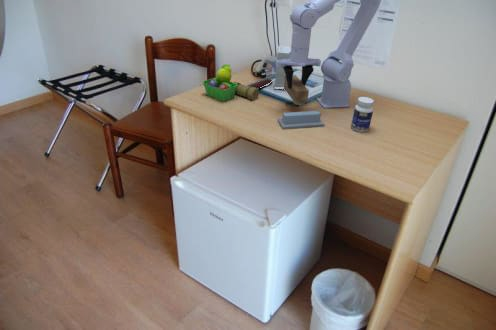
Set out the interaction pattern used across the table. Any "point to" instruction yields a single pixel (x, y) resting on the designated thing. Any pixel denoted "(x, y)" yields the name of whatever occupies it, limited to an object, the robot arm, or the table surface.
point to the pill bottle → (362, 114)
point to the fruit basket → (221, 85)
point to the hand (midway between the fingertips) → (296, 87)
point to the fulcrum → (301, 120)
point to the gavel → (250, 89)
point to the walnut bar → (297, 91)
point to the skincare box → (280, 73)
